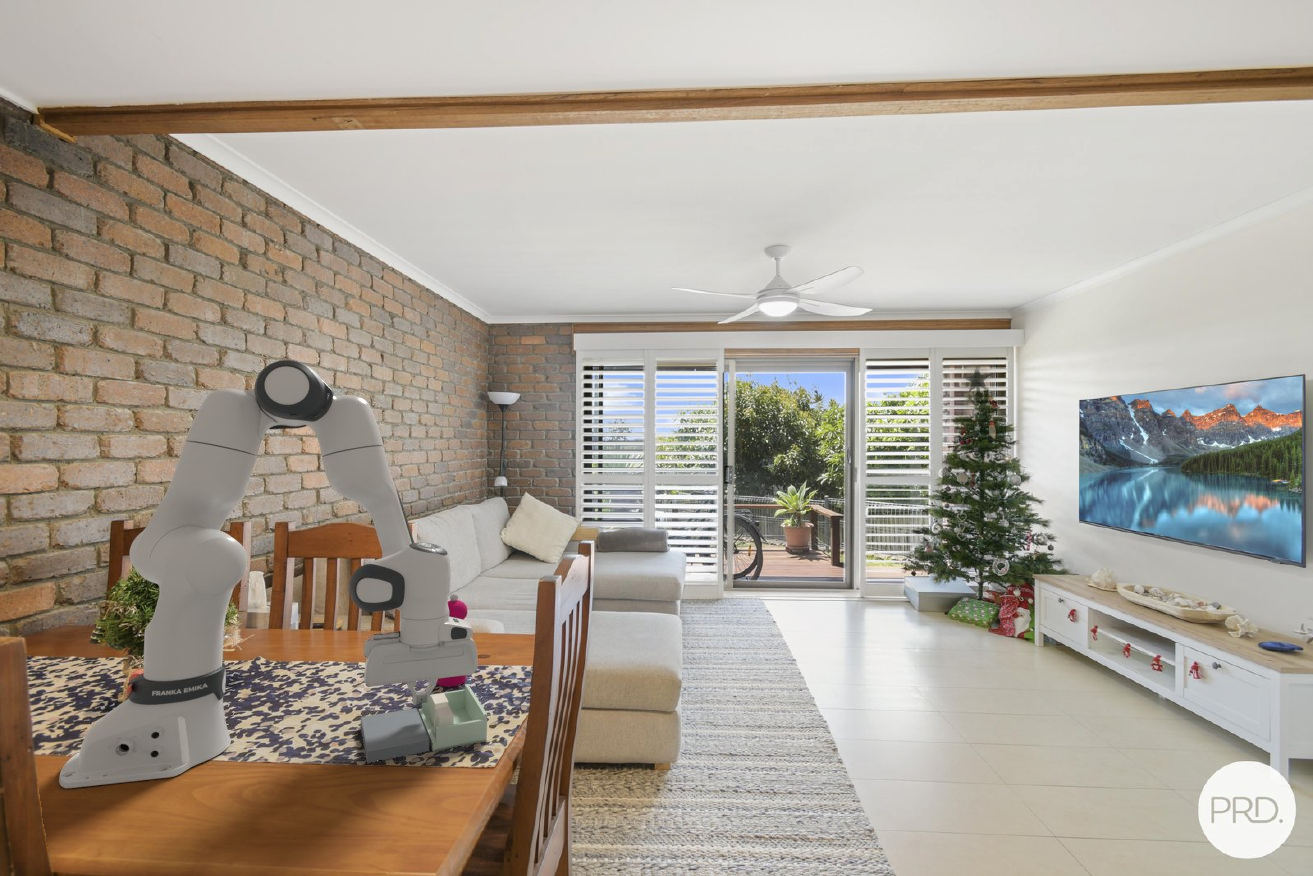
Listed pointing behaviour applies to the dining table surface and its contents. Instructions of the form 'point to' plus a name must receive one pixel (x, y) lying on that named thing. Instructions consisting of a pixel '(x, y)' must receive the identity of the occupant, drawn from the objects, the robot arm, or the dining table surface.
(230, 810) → the dining table surface
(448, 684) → the pepper mill
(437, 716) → the tile front
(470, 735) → the bin
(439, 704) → the tile back
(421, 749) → the slate plate
